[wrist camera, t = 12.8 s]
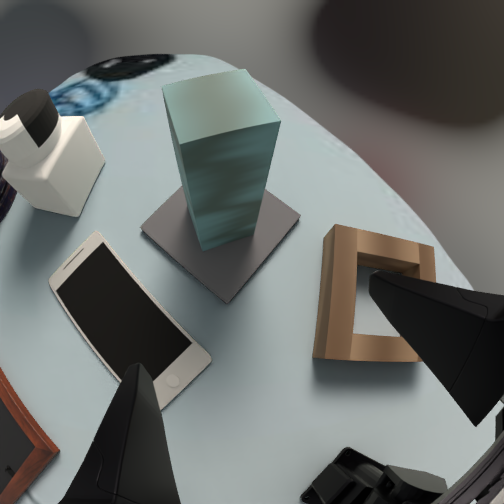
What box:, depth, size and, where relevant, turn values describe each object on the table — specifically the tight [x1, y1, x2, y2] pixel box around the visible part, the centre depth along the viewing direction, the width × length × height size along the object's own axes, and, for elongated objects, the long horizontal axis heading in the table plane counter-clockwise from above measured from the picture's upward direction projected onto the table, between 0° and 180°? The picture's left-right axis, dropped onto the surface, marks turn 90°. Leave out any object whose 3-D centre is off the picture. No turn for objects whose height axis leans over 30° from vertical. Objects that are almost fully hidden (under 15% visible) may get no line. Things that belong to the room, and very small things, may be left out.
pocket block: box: [312, 224, 436, 362], centre depth 22 cm, size 10×10×3 cm
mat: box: [140, 186, 301, 304], centre depth 24 cm, size 10×10×1 cm
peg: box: [162, 69, 281, 251], centre depth 18 cm, size 4×4×13 cm
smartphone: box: [49, 231, 212, 410], centre depth 21 cm, size 7×15×1 cm, turn 47°
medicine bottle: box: [0, 89, 105, 217], centre depth 19 cm, size 7×7×12 cm
